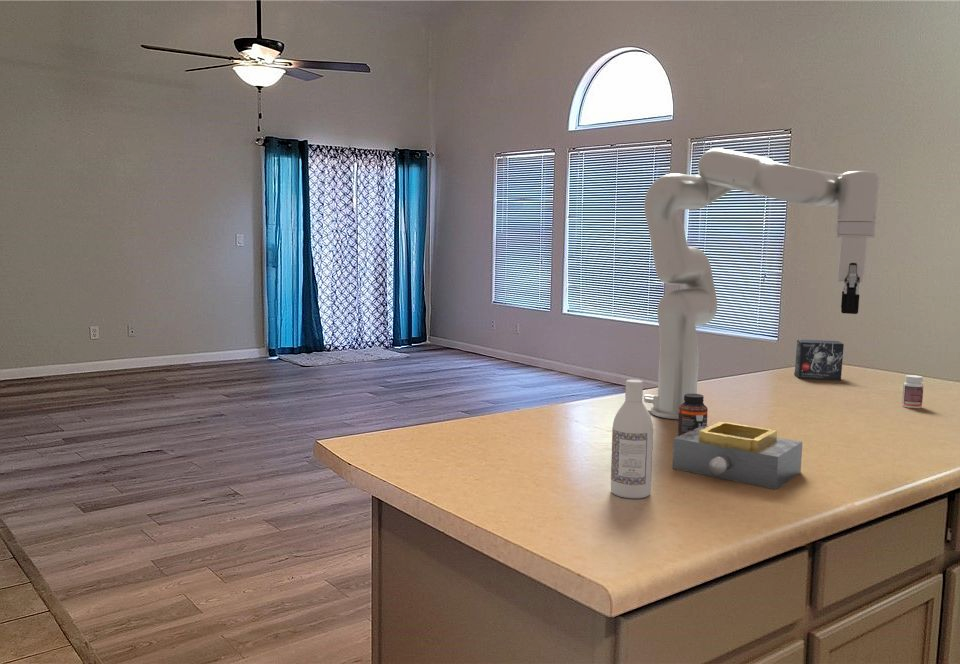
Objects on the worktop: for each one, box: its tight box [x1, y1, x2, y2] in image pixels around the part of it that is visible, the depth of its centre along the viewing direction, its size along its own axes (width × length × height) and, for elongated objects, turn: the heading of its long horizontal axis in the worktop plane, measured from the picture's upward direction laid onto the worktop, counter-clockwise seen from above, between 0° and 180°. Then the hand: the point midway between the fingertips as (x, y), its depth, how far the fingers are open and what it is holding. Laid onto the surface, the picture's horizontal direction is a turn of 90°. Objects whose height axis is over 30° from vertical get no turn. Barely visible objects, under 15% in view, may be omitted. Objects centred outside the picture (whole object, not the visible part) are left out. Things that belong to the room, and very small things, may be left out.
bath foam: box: [610, 379, 654, 500], centre depth 140 cm, size 7×7×20 cm
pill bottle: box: [901, 374, 924, 409], centre depth 217 cm, size 5×5×8 cm
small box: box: [793, 338, 845, 381], centre depth 261 cm, size 13×7×12 cm, turn 80°
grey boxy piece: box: [671, 421, 803, 490], centre depth 155 cm, size 20×17×8 cm
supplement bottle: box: [677, 393, 709, 437], centre depth 173 cm, size 6×6×11 cm
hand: (849, 311), depth 173 cm, fingers open, 9 cm apart
